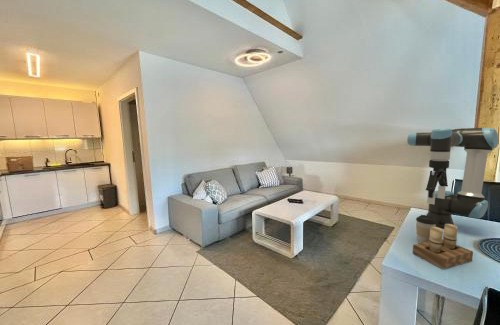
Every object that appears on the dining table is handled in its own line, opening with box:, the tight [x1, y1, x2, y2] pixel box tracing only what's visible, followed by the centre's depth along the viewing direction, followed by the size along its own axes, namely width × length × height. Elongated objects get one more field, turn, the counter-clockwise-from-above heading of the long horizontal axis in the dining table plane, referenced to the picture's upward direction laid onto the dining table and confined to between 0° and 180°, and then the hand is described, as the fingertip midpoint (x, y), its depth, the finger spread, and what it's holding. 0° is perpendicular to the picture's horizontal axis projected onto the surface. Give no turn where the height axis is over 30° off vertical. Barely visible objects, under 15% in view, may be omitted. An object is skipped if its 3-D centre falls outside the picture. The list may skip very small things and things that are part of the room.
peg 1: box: [429, 227, 444, 254], centre depth 105 cm, size 5×5×12 cm
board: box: [412, 239, 474, 270], centre depth 107 cm, size 20×14×5 cm
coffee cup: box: [415, 214, 437, 243], centre depth 122 cm, size 9×9×15 cm
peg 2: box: [443, 224, 459, 250], centre depth 108 cm, size 5×5×12 cm
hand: (436, 201), depth 109 cm, fingers open, 13 cm apart
